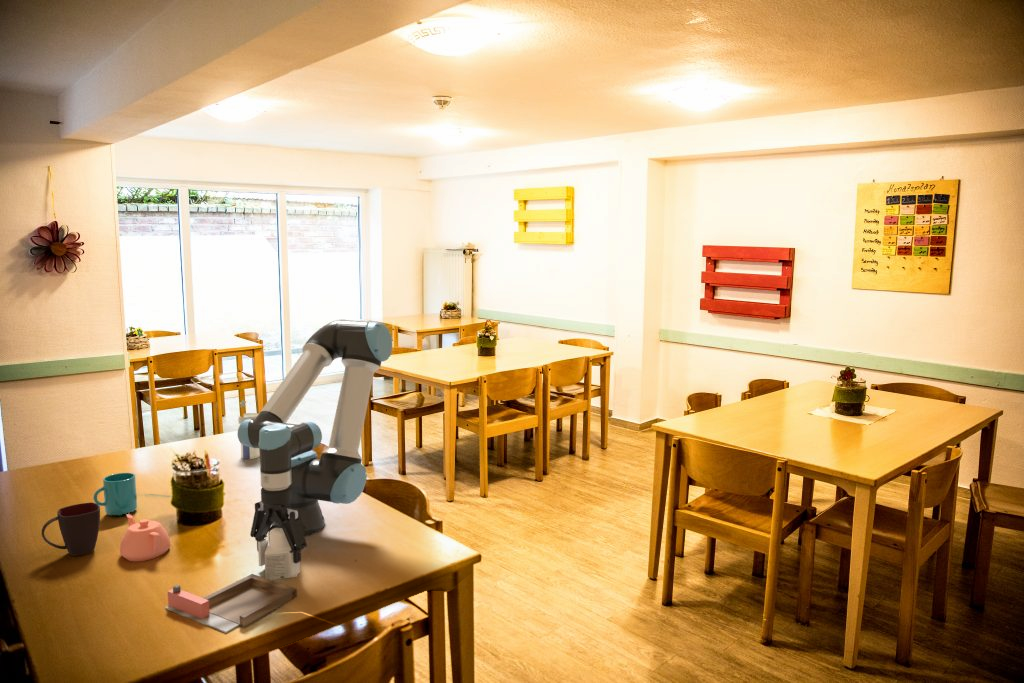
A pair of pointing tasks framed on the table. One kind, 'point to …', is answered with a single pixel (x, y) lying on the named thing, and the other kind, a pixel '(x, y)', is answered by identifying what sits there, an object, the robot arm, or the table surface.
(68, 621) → the table surface
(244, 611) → the brown tray
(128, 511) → the cup
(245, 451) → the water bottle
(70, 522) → the mug
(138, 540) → the teapot
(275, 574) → the container
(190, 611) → the bar
